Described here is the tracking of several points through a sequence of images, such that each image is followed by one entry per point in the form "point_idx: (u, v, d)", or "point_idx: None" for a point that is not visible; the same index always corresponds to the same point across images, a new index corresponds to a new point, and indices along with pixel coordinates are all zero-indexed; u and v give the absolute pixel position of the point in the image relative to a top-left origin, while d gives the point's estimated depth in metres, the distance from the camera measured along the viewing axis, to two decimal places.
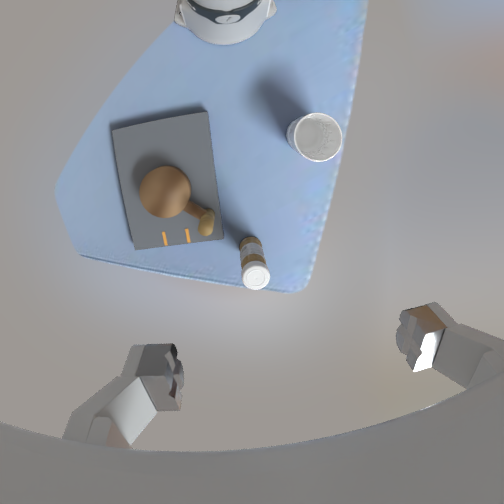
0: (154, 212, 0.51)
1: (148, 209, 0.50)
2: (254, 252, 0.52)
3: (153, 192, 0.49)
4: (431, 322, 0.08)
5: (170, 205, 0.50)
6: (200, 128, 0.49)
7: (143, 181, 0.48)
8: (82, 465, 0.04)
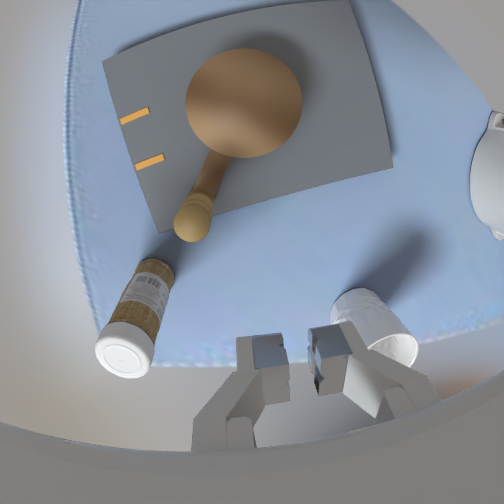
0: (195, 86, 0.20)
1: (201, 72, 0.19)
2: (160, 316, 0.25)
3: (243, 78, 0.20)
4: (334, 345, 0.08)
5: (216, 119, 0.21)
6: (366, 158, 0.26)
7: (266, 55, 0.19)
8: (82, 465, 0.04)
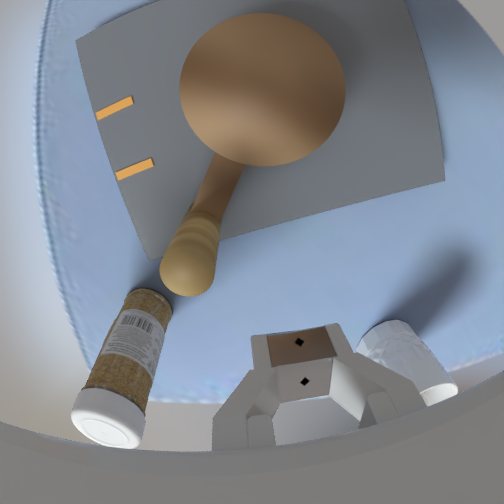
0: (194, 63, 0.13)
1: (202, 44, 0.13)
2: (152, 371, 0.18)
3: (263, 53, 0.13)
4: (319, 348, 0.08)
5: (224, 110, 0.14)
6: (415, 168, 0.19)
7: (295, 24, 0.12)
8: (82, 465, 0.04)
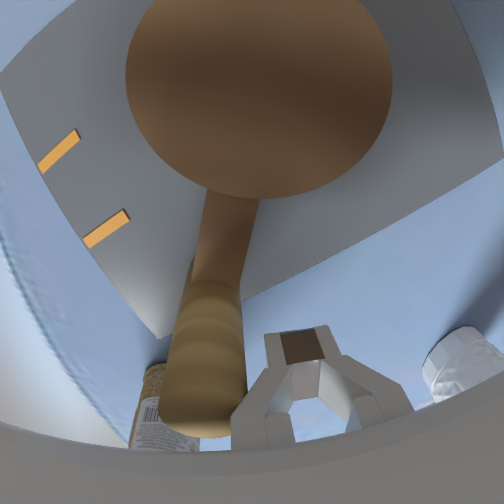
0: (143, 53, 0.07)
1: (150, 21, 0.07)
2: None
3: (251, 15, 0.07)
4: (307, 350, 0.08)
5: (207, 117, 0.09)
6: (474, 148, 0.13)
7: None
8: (82, 465, 0.04)
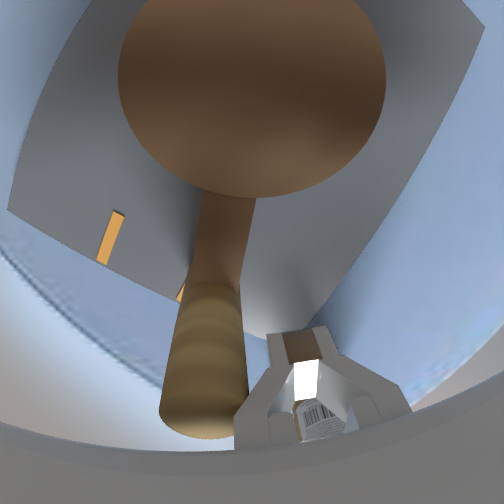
0: (135, 56, 0.07)
1: (141, 24, 0.07)
2: None
3: (241, 14, 0.07)
4: (305, 350, 0.08)
5: (200, 118, 0.09)
6: (458, 34, 0.10)
7: None
8: (82, 465, 0.04)
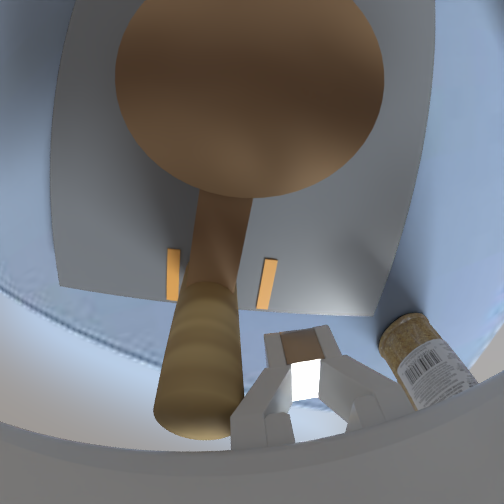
0: (132, 56, 0.07)
1: (138, 24, 0.07)
2: (476, 384, 0.12)
3: (238, 13, 0.07)
4: (307, 350, 0.08)
5: (197, 117, 0.09)
6: None
7: None
8: (82, 465, 0.04)
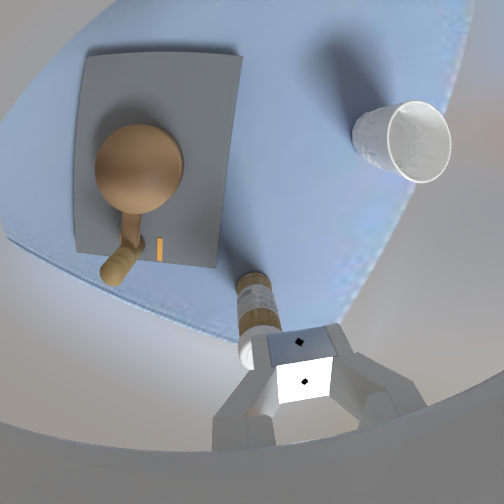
0: (99, 168, 0.26)
1: (100, 156, 0.26)
2: (266, 305, 0.30)
3: (129, 151, 0.26)
4: (319, 348, 0.08)
5: (120, 188, 0.27)
6: (224, 79, 0.27)
7: (140, 127, 0.25)
8: (82, 465, 0.04)
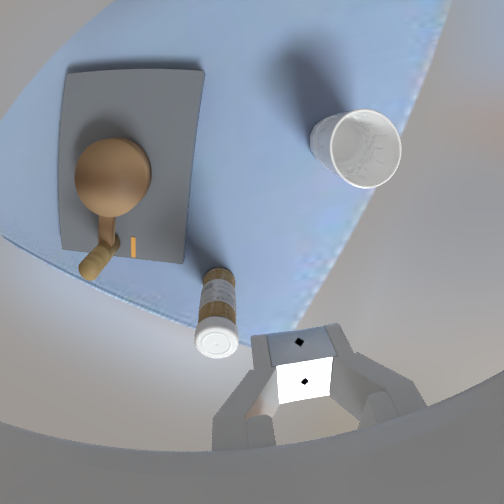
0: (78, 177, 0.29)
1: (78, 166, 0.29)
2: (222, 298, 0.34)
3: (102, 163, 0.29)
4: (319, 348, 0.08)
5: (95, 195, 0.30)
6: (186, 93, 0.30)
7: (111, 141, 0.28)
8: (82, 465, 0.04)
